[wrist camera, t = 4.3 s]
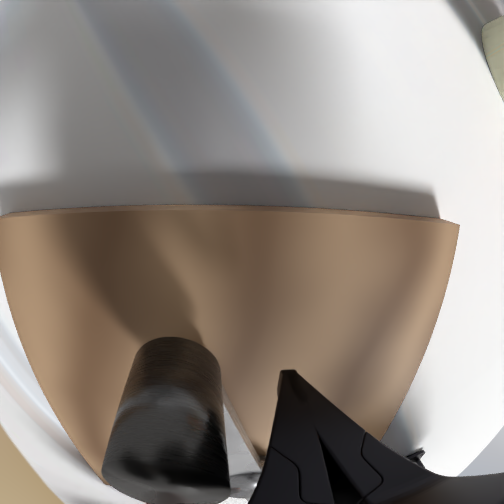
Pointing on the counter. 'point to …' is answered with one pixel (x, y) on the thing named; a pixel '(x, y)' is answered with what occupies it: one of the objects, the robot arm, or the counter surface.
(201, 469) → the lever
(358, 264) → the base
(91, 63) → the counter surface
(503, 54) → the reusable coffee cup
